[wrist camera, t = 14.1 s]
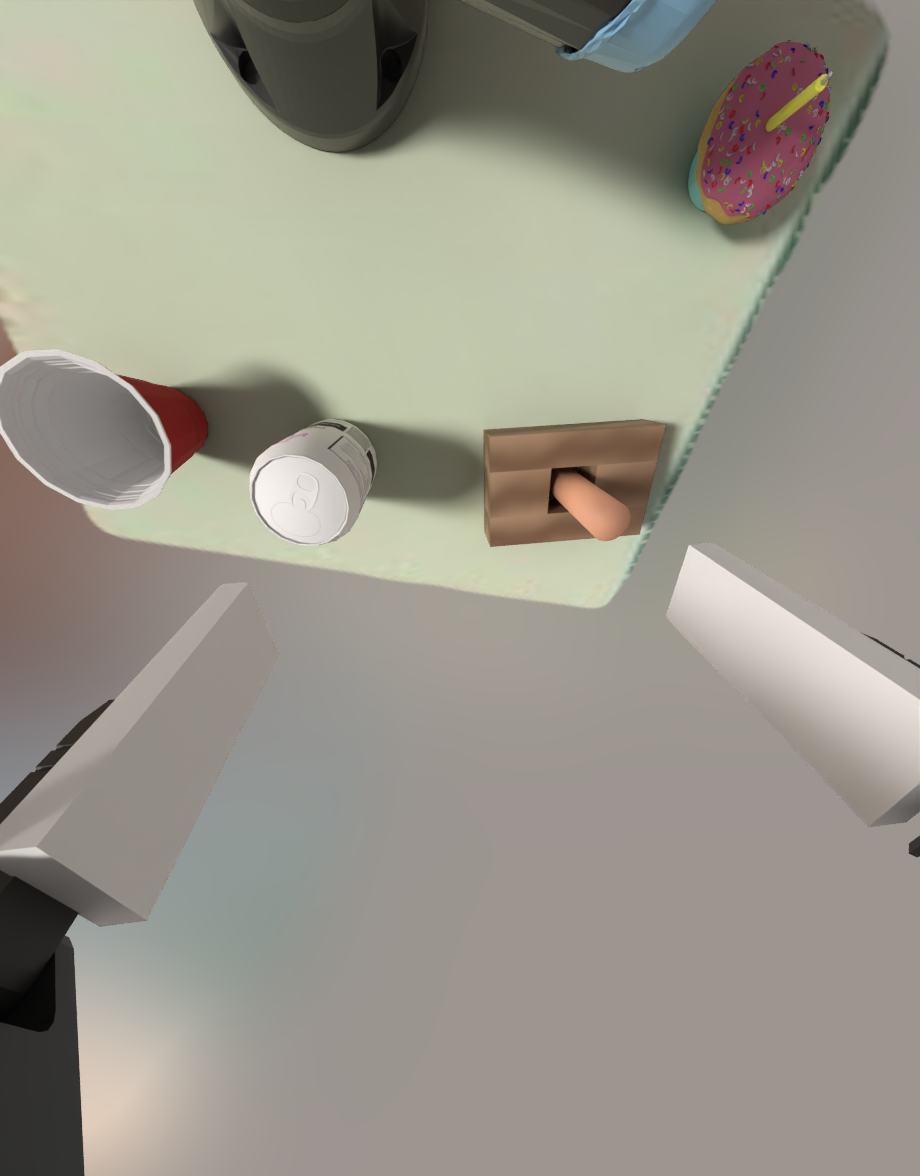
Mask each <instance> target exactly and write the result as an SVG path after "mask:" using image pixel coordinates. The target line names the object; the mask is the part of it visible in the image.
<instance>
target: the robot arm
mask: <svg viewBox="0 0 920 1176" xmlns="http://www.w3.org/2000/svg"><path fill="white" fill-rule="evenodd" d="M193 1H194V4H195V6H196V8H197V11H198V13H199V15H200V17H201V19H202V22H203V24H204V26H205V28H206V30H207V32H208V34H209V36H210V38H211V40H212V41H213V43H214V45H215V47H216V48H217V50H218V52H219V54H220V55H221V57H222V58H223V60H224V61H225V63H226V65H227V66H228V68H229V69H230V71H231V72H232V74H233V75H234V77H235V78H236V80H237V82H238V83H239V85H240V86H241V87H242V89H243V90H244V92H245V93H246V94H247V96H248V97H249V98H250V99H251V101H252V102H253V103H254V104H255V105H256V107H257V108H258V109H259V110H260V111H261V112H262V113H263V114H264V115H265V116H266V117H267V118H268V119H269V120H270V121H271V122H272V123H273V124H274V125H276V126H277V127H278V128H279V129H281V130H282V131H283V132H284V133H286V134H287V135H289V136H290V137H292V138H294V139H295V140H297V141H299V142H301V143H303V144H305V145H308V146H310V147H313V148H316V149H320V150H325V151H335V152H340V151H349V150H354V149H357V148H360V147H362V146H364V145H367V144H368V143H370V142H372V141H374V140H375V139H376V138H378V137H379V136H380V135H381V134H383V133H384V132H385V131H386V130H387V129H388V128H389V127H390V126H391V124H392V123H393V122H394V121H395V119H396V118H397V117H398V115H399V114H400V112H401V110H402V109H403V107H404V105H405V103H406V102H407V100H408V97H409V95H410V93H411V91H412V88H413V86H414V83H415V80H416V77H417V74H418V71H419V67H420V63H421V59H422V54H423V49H424V43H425V37H426V28H427V15H428V0H193ZM460 1H462V2H464V3H466V4H469V5H471V6H473V7H475V8H477V9H479V10H481V11H483V12H485V13H487V14H490V15H492V16H494V17H496V18H498V19H500V20H502V21H504V22H506V23H509V24H511V25H513V26H515V27H517V28H519V29H521V30H523V31H525V32H527V33H530V34H532V35H534V36H536V37H538V38H540V39H542V40H544V41H546V42H549V43H551V44H553V45H555V47H556V52H557V53H558V54H559V55H560V56H562V57H563V58H565V59H568V60H578V59H582V58H585V59H588V60H590V61H593V62H595V63H598V64H601V65H603V66H606V67H609V68H611V69H614V70H616V71H619V72H623V73H635V72H638V71H641V70H642V69H644V68H645V67H647V66H649V65H651V64H652V63H655V62H658V61H660V60H661V59H663V58H664V57H665V56H667V55H668V54H669V53H670V52H671V51H672V50H673V49H675V48H676V47H677V46H678V45H679V44H680V43H681V42H682V41H683V40H684V39H685V38H686V37H687V36H688V35H689V33H690V32H691V31H692V30H693V29H694V28H695V27H696V25H697V24H698V23H699V22H700V21H701V19H702V18H703V17H704V16H705V15H706V13H707V12H708V11H709V10H710V8H711V7H712V6H713V5H714V3H715V2H716V1H717V0H460ZM666 618H667V619H668V620H669V621H670V622H671V623H672V624H673V625H674V626H675V627H676V628H677V629H678V630H679V631H680V633H681V634H682V635H683V636H684V637H685V638H686V639H687V640H688V641H689V642H690V643H691V644H692V645H693V646H694V647H695V648H696V649H697V650H698V651H699V652H700V653H701V654H702V655H703V656H704V657H705V658H706V659H707V660H708V662H709V663H710V664H711V665H712V666H713V667H714V668H715V669H716V670H717V671H718V672H719V673H720V674H721V675H722V676H723V677H724V678H725V679H726V680H727V681H728V682H729V683H730V684H731V685H732V686H733V687H734V688H735V689H736V691H738V693H739V694H741V696H742V697H743V698H744V699H745V700H746V701H747V702H748V703H749V704H750V705H751V706H752V707H753V708H754V709H755V710H756V711H757V712H758V713H759V714H760V715H761V716H762V717H763V718H764V719H765V720H766V721H767V722H768V724H769V725H770V726H771V727H772V728H773V729H774V730H775V731H776V732H777V733H778V734H779V735H780V736H781V737H782V738H783V739H784V740H785V741H786V742H787V743H788V744H789V745H790V746H791V747H792V748H793V749H794V751H795V752H797V754H798V755H799V756H800V757H801V758H802V759H803V760H804V761H806V763H807V764H808V765H809V766H810V767H811V768H812V769H813V770H814V771H815V772H816V773H817V774H818V775H819V776H820V777H821V778H822V779H823V781H825V783H826V784H827V785H828V786H829V787H830V788H831V789H832V790H833V791H834V792H835V793H836V794H837V795H838V796H839V797H840V798H841V799H842V800H843V801H844V802H845V803H846V804H847V805H848V806H849V807H850V808H851V809H852V810H853V811H854V812H855V813H856V815H857V816H858V817H859V818H860V819H861V820H862V821H863V822H864V823H865V824H866V825H867V826H868V827H873V826H880V825H888V824H896V823H904V822H907V821H908V820H910V819H911V818H912V817H913V816H915V815H916V814H917V813H918V812H919V811H920V665H918V664H917V663H915V662H913V661H912V660H910V659H909V660H906V659H905V658H904V655H902V654H900V653H898V652H897V651H895V650H894V649H892V648H890V647H889V646H887V645H885V644H883V643H882V642H880V641H879V640H877V639H875V638H872V637H870V636H868V635H865V634H863V633H861V632H859V631H857V630H856V629H854V628H852V627H851V626H849V625H847V624H846V623H844V622H842V621H841V620H839V619H837V618H836V617H834V616H833V615H831V614H829V613H828V612H826V611H824V610H823V609H821V608H819V607H818V606H816V605H814V604H813V603H811V602H809V601H808V600H806V599H805V598H803V597H801V596H800V595H798V594H796V593H795V592H793V591H791V590H790V589H788V588H787V587H785V586H783V585H782V584H780V583H778V582H777V581H775V580H773V579H772V578H770V577H769V576H767V575H765V574H764V573H762V572H760V571H759V570H757V569H755V568H754V567H752V566H750V565H749V564H747V563H746V562H744V561H742V560H740V559H739V558H737V557H736V556H734V555H732V554H731V553H729V552H727V551H726V550H724V549H722V548H721V547H719V546H717V545H716V544H714V543H706V544H694V545H689V547H688V550H687V553H686V556H685V559H684V562H683V565H682V568H681V571H680V574H679V578H678V581H677V584H676V587H675V590H674V593H673V596H672V599H671V602H670V605H669V608H668V611H667V614H666ZM278 655H279V652H278V649H277V647H276V645H275V642H274V640H273V638H272V635H271V633H270V631H269V629H268V626H267V624H266V621H265V619H264V617H263V614H262V612H261V610H260V607H259V605H258V603H257V600H256V598H255V596H254V593H253V591H252V589H251V586H250V584H249V582H244V583H232V584H221V585H220V586H219V587H218V588H217V590H216V591H215V592H214V593H213V594H212V595H211V596H210V597H209V598H208V599H207V601H206V602H205V603H204V604H203V605H202V606H201V607H200V608H199V609H198V610H197V611H196V612H195V613H194V615H193V616H192V617H191V618H190V619H189V620H188V621H187V622H186V623H185V625H183V627H182V628H181V629H180V630H179V631H178V632H177V633H176V634H175V635H174V636H173V638H171V640H170V641H169V642H168V643H167V644H166V645H165V646H164V647H163V648H162V649H161V650H160V652H159V653H158V654H157V655H156V656H155V657H154V658H153V659H152V660H151V661H150V662H149V663H148V665H147V666H146V667H145V668H144V669H143V670H142V671H141V672H140V673H139V674H138V675H137V677H136V678H135V679H134V680H133V681H132V682H131V683H130V684H129V685H128V686H127V687H126V688H125V690H124V691H123V692H122V693H121V694H120V695H119V696H118V697H117V698H116V699H114V700H109V701H107V702H106V703H105V704H103V705H102V706H101V707H99V708H98V709H96V710H95V711H93V712H92V713H91V714H89V715H88V716H87V717H85V718H84V719H82V720H81V721H80V722H79V723H78V724H77V725H76V726H75V727H74V728H73V729H72V730H71V731H70V732H69V733H68V734H67V735H66V736H65V737H64V738H63V739H62V740H61V741H60V743H58V745H57V749H56V750H54V751H51V752H50V753H49V754H48V755H47V756H46V757H45V758H44V759H43V760H42V761H41V762H40V763H39V764H38V765H37V766H36V771H35V772H31V773H30V774H29V775H28V776H27V777H26V778H25V779H24V780H23V781H22V782H21V783H20V784H19V785H18V786H17V787H16V788H15V789H14V790H13V791H12V792H11V794H9V795H8V796H7V797H6V798H5V800H4V801H3V802H2V803H1V804H0V1176H84V1159H83V1158H84V1157H83V1136H82V1116H81V1096H80V1095H81V1094H80V1072H79V1052H78V1031H77V1009H76V988H75V966H74V948H73V946H72V943H71V941H70V939H69V937H67V936H65V934H66V933H67V931H68V929H69V927H70V926H71V925H72V923H73V921H74V920H75V918H76V917H77V915H78V914H79V915H80V916H82V917H84V918H86V919H88V920H89V921H91V922H93V923H94V924H96V925H98V926H100V927H101V926H108V925H116V924H124V923H132V922H139V921H146V920H147V919H148V917H149V915H150V913H151V911H152V909H153V907H154V905H155V903H156V901H157V899H158V897H159V894H160V893H161V891H162V889H163V887H164V885H165V883H166V881H167V879H168V877H169V875H170V873H171V871H172V869H173V867H174V865H175V863H176V861H177V859H178V857H179V855H180V853H181V851H182V849H183V847H184V845H185V843H186V840H187V838H188V837H189V835H190V832H191V831H192V829H193V827H194V824H195V822H196V820H197V818H198V816H199V814H200V812H201V810H202V808H203V806H204V804H205V802H206V800H207V798H208V796H209V794H210V792H211V790H212V788H213V786H214V784H215V782H216V780H217V778H218V776H219V774H220V772H221V770H222V768H223V766H224V764H225V762H226V760H227V758H228V756H229V754H230V752H231V750H232V748H233V746H234V744H235V742H236V740H237V738H238V736H239V734H240V732H241V730H242V728H243V726H244V724H245V722H246V720H247V718H248V716H249V714H250V712H251V710H252V708H253V706H254V704H255V702H256V700H257V698H258V696H259V694H260V692H261V690H262V688H263V685H264V684H265V682H266V680H267V677H268V676H269V674H270V672H271V669H272V668H273V666H274V664H275V662H276V659H277V657H278ZM909 854H911V855H913V856H915V857H919V856H920V836H919V837H917V838H916V839H915V840H913V841H912V842H910V843H909Z"/></svg>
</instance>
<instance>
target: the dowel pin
mask: <svg viewBox="0 0 920 1176" xmlns="http://www.w3.org/2000/svg"><path fill="white" fill-rule="evenodd" d="M549 492H550V493H551V494H552V495H553V496H554V497H555V498H556V499H557V500H558V501H559V502H560V503H561V504H562V505H563V506H564V507H565V508H566V509H567V510H568V511H569V512H570V513H571V514H572V515H573V516H574V517H575V518H576V519H577V520H578V521H579V522H580V523H581V524H582V525H583V526H584V527H585V528H586V529H587V530H588V531H589V532H590V533H591V534H592V535H593V536H594V537H595V538H597V539H598V540H601V541H609V540H613V539H615V538H617V537H619V536H620V535H621V534H622V533H624V531H625V530H626V529H627V527H628V525H629V523H630V511H629V509H628V508H627V507H626V506H625V505H624V504H622V503H621V502H619V501H618V500H616V499H615V498H613V497H612V496H610V495H609V494H608V493H606V492H605V491H603V490H602V489H600V488H599V487H597V486H596V485H594V484H593V483H591V482H590V481H589V480H587V479H586V478H584V477H583V476H581V475H580V474H578V473H577V472H575V471H574V470H573V469H571V468H570V467H564V468H551V479H550V490H549Z"/></svg>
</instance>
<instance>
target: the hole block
mask: <svg viewBox="0 0 920 1176" xmlns="http://www.w3.org/2000/svg"><path fill="white" fill-rule="evenodd" d="M665 427H666V425H663V424H659V423H655V422H651V421H647V420H643V419H641V420H626V421H611V422H596V423H580V424H565V425H550V426H535V427H519V428H504V429H489V430H484V521H485V534H486V537H487V539H488V542H489V545H490V547H493V546H506V545H518V544H530V543H542V542H554V541H566V540H578V539H591V538H595V537H594V536H593V535H592V534H591V533H590V532H589V531H588V530H587V529H586V528H585V527H584V526H583V525H582V524H581V523H580V522H579V521H578V520H577V519H576V518H575V517H574V516H573V515H572V514H571V513H570V512H569V511H568V510H567V509H566V508H565V507H564V506H563V505H562V504H561V503H560V502H559V501H558V500H549V490H550V479H551V468H564V467H578V466H580V473H579V474H580V475H581V476H583V477H584V478H586V479H587V480H589V481H590V482H591V483H593V484H594V485H596V486H597V487H599V488H600V489H602V490H603V491H605V492H606V493H608V494H609V495H610V496H612V497H613V498H615V499H616V500H618V501H619V502H621V503H622V504H624V505H625V506H626V507H627V508H628V509H629V511H630V523H629V525H628V527H627V529H626V530H625V531H624V533H622V534H621V535H620V536H627V535H639V534H640V530H641V526H642V522H643V518H644V514H645V510H646V505H647V501H648V497H649V493H650V489H651V485H652V481H653V476H654V472H655V468H656V464H657V460H658V456H659V451H660V447H661V443H662V439H663V435H664V431H665Z"/></svg>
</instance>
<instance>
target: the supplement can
mask: <svg viewBox="0 0 920 1176" xmlns="http://www.w3.org/2000/svg"><path fill="white" fill-rule="evenodd" d="M376 469H377V459H376V453H375V450H374V448H373V446H372V444H371V442H370V440H369V438H368V437H367V436H366V435H365V434H364V433H363V432H362V431H361V430H360V429H359V428H358V427H356V426H354V425H352V424H350V423H348V422H346V421H344V420H336V419H326V420H322V421H319V422H315V423H314V424H312V425H310V426H308V427H306V428H304V429H302V430H300V431H298V432H297V433H295V434H293V435H291V436H289V437H287V438H285V439H283V440H281V441H280V442H278V443H276V444H274V445H272V446H271V447H269V448H268V449H267V450H266V451H264V452H263V453H262V454H261V455H260V456H258V457H257V459H256V461H255V463H254V466H253V468H252V470H251V472H250V499H251V502H252V505H253V507H254V510H255V513H256V515H257V516H258V518H259V519H260V520H261V521H262V523H263V524H264V525H265V527H266V528H267V529H268V530H270V531H271V532H273V533H274V534H275V535H277V536H278V537H280V538H281V539H283V540H286V541H289V542H291V543H294V544H297V545H309V546H315V545H321V544H325V543H329V542H333V541H336V540H338V539H339V538H341V537H342V536H344V535H345V534H346V533H348V532H349V531H350V529H351V528H352V526H353V525H354V523H355V521H356V520H357V518H358V516H359V514H360V511H361V509H362V507H363V504H364V502H365V500H366V497H367V495H368V493H369V490H370V488H371V486H372V483H373V481H374V479H375V475H376Z"/></svg>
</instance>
